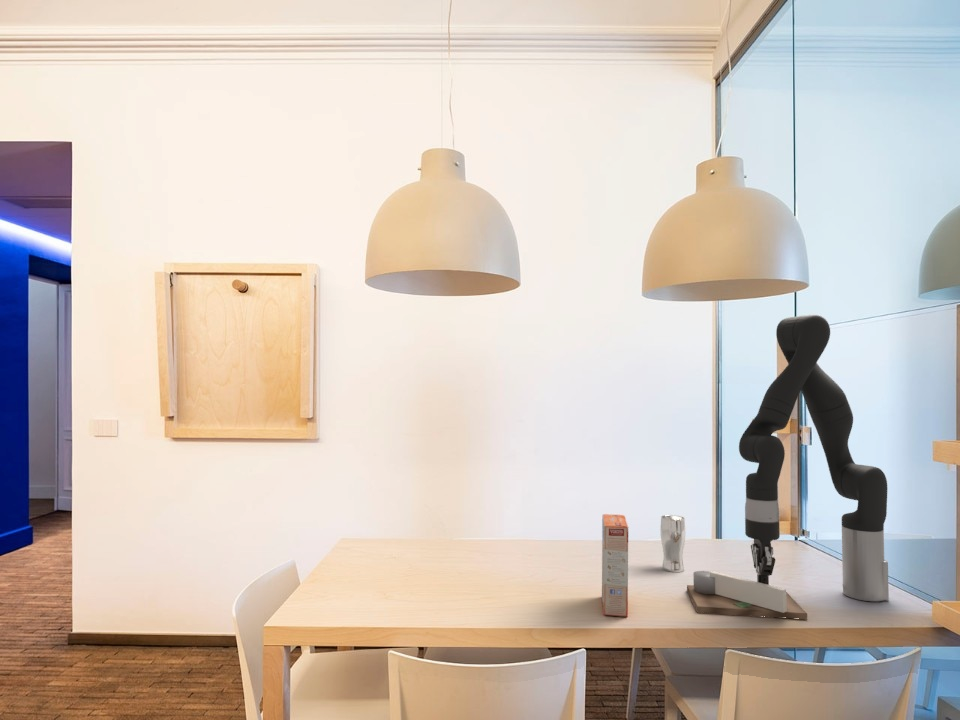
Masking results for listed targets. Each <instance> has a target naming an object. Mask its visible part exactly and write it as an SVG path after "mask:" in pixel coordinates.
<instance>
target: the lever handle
mask: <svg viewBox="0 0 960 720" xmlns="http://www.w3.org/2000/svg"><path fill="white" fill-rule="evenodd" d="M693 585H694V590H695V591H696V592H699V593H702V594H717V595H721V596H724V597H728V598H731V599H735V600H739V601H742V602H746V603H750V604H753V605H757V606H760V607H764V608H768V609H771V610H775V611H779V612H782V613H784V612H786V592H787V589H786V588H783V587H778V586H774V585H772V584H769V585H767V584H763V583H759V582H757V581H755V580H751V579H746V578H743V577H739V576H734V575H731V574H726V573H722V572H718V571H714V570H713V571H709V570H695V571H694V572H693Z"/></svg>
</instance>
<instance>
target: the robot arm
mask: <svg viewBox="0 0 960 720" xmlns="http://www.w3.org/2000/svg"><path fill="white" fill-rule="evenodd" d="M775 332H776V333H775V334H776V339H777V344H778V346H779V349H780V351H781V352H782V355H783V356H784V358H785V359H786V362H787V366H785V368H784V369H782V372H781V373H780V374H779V375H778V376H777V377H776V378H775V379H774V380H773V382H772V383H771V384H770V385H769V387H768V388H767V389H766V392H765V394H764V396H763V399H762V401H761V404H760V406H759V408H758V412H757V414H756V415H755V416H754V418H753V419H752V420H751V422H750V423H749V425H748V426H747V427H746V428H745V431H744V432H743V434H741V437H740V439H739V442H738V451H739V454H740V456H741V458H742V459H743V460H744V461H747V462H750V463H755V464H758V466H757V470H756V472H752V473H751V472H750V473H749V474H748V475H747V476H746V479H745V504H744V505H745V506H744V521H745V522H744V523H745V524H744V526H745V527H744V528H745V532H744V533H745V534H744V535H745V536H746V537H747V538H749V539H753V543H751V544H750V549H751V556H752V561H753V567H754V569H755V573H756V574H757V576H756V578H757V580H756V582H759V583H763V584H767V585H770V584H769V577H770V576H772V575H773V572H774V568H775V564H776V558H775V557H774V556H773V555H774V547H773V546H772V543H771V542H772V541H777V540H779V539H780V530H781V529H780V506H779V498H778V497H779V489H778V488H779V487H778V484H779V483H778V482H779V479H780V476H781V472H782V467H783V464H784V461H785V454H786V453H785V451H786V450H785V447H784V444H783V442H782V441H781V439H780V438H779V437H777V436H776V435H773V433H775V432H777V431H782V430H783V429H785V428H787V426H788V423H789V421H790V418H791V416H792V413H793V410H794V408H795V404H796V403H797V399H798V397H799V396H800V393H802V394H801V395H802V396H803V398H804V399H803V400H804V402H805V404H806V408H807V410H808V413H809V416H810V418H811V420H812V423H813V425H814V427H815V430H816V432H817V436H818V438H819V441H820V444H821V447H822V449H823V452H824V456H825V458H826V462H827V468H828V471H829V474H830V477H831V481H832V484H833V486H834V490H835V491H836V492H837V493H838V494H839V496H840V497H843V498H845V499H849V500H853V501H857V507H856V510H854V511H853V512H852V511H851V512H848V513H844V514H842V516H841V552H842V553H841V557H842V558H841V560H842V563H841V564H842V565H841V566H842V570H841V571H842V593H843V594H844V595H845V596H847V597H850V598H852V599H854V600H855V599H856V600H859V601H865V602H882V601H883V602H884V601H890V600H889V599H890V597H889V595H890V594H889V589H890V588H889V563H888V561H887V560H885V532H884V531H885V528H884V527H885V526H884V525H885V522H886V519H887V515H888V514H887V513H888V512H887V510H888V509H887V508H888V504H887V503H888V480H887V477H886V475H885V473H884V471H883V470H882V469H881V468H879V467H876V466H872V465H867V464H866V465H864V464H857V463H855V462H854V459H853V457H852V454H851V452H850V449H849V439H850V436H851V431H852V428H853V424H854V415H853V414H854V413H853V411H852V408H851V405H850V403H849V401H848V399H847V395H846V393H845V392H844V390H843V389H842V388H841V387H840V386H839V384H838V383H837V382H836V381H835V380H834V379H833V378H831V377H830V376H829V375H828V374H827V373H826V372H825V371H824V370H823V369H822V368H821V366H820V365H819V364H818V361H819V359H820V357H821V356H822V355H823V353H824V351H825V349H826V347H827V346H828V343H829V342H830V341H829V340H830V338H831V337H830V336H831V327H830V324H829V322H828V321H827V319H826V318H825V317H823V316H821V315H818V314H807V315H799V316H791V317H786V318H782V319H781V320H780V321H779V323H778V324H777V326H776V331H775Z"/></svg>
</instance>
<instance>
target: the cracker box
mask: <svg viewBox="0 0 960 720" xmlns="http://www.w3.org/2000/svg"><path fill="white" fill-rule="evenodd" d="M601 521H602V524H601V525H602V526H601V527H602V528H601V534H602V535H601V537H602V538H601V541H602V542H601V546H602V547H601V548H602V549H601V550H602V551H601V601H602V602H601V603H602V610H603V611H602V613H603V616H609V617H610V616H611V617H620V618H621V617H623V618H625V617H626V618H628V616H629V615H628V614H629V612H628V611H629V526H628V522H627V520H626V516H625V515H624V514H607V513H605V514H602V520H601Z"/></svg>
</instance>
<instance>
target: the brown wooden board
mask: <svg viewBox="0 0 960 720" xmlns="http://www.w3.org/2000/svg"><path fill="white" fill-rule="evenodd" d="M686 592H687V594H688V596H689V598H690V600H691V602H692V605H693V606H694V608H695V610H696V613H698V614H710V615H725V616H738V617H739V616H741V617H742V616H743V617H754V616H763V617H762V618H769V617H786V618H799V619H807V620H808V613H807V611H805V610H804V609H803V607H801V605H800V604H799V603H798V602H797V601H796V600H795V599H794V598H793V596H791V595H790V594H789V593H788V592H787V591H786V612H784V613H782V612H779V611H775V610H771V609H768V608H764V607H760V606H757V605H753V604H750V603H746V602H742V601H739V600H735V599H731V598H728V597H724V596H721V595H717V594H702V593H699V592H696V591H695V590H694V584H693V585H691V584H687V585H686ZM764 616H765V617H764ZM799 619H798V620H799Z"/></svg>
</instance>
